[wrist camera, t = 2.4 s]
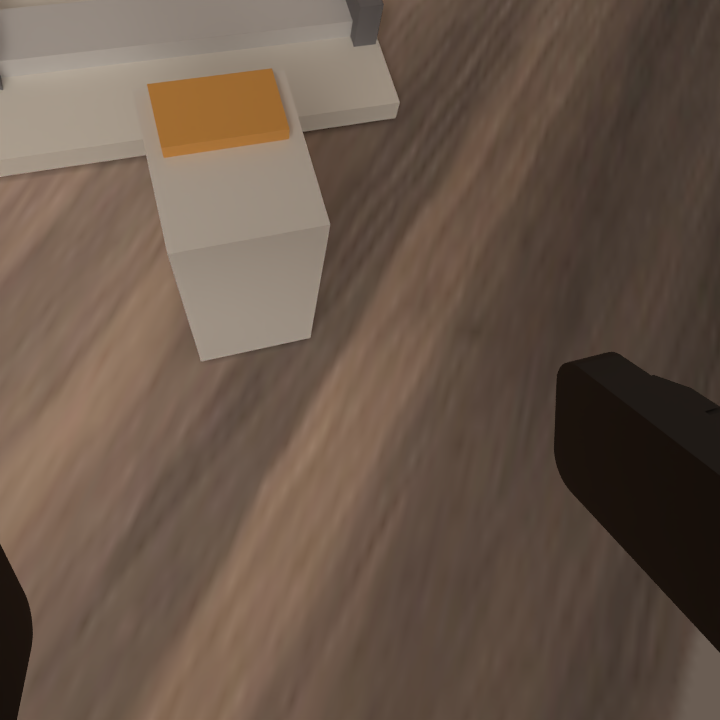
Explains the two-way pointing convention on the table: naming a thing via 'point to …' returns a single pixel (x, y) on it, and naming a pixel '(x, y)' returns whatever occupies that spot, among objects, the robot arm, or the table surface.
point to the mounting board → (173, 67)
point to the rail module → (236, 207)
